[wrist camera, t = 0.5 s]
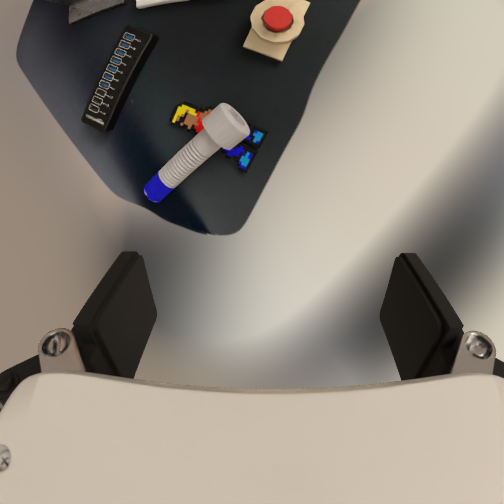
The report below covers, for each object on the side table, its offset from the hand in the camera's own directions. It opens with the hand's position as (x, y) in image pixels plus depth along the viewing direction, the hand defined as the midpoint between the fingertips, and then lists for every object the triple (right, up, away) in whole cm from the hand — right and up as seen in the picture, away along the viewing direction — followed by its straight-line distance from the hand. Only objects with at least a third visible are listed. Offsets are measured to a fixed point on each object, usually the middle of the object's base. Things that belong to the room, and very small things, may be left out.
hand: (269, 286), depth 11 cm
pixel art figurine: (-5, +16, +25) cm, 31 cm away
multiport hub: (-18, +24, +21) cm, 37 cm away
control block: (+2, +29, +18) cm, 34 cm away
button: (+2, +27, +15) cm, 31 cm away
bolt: (-10, +14, +23) cm, 29 cm away
